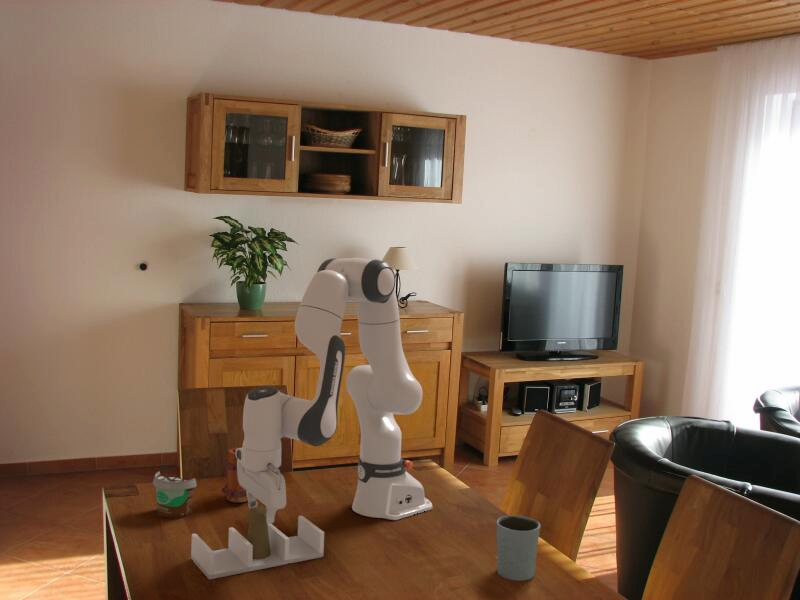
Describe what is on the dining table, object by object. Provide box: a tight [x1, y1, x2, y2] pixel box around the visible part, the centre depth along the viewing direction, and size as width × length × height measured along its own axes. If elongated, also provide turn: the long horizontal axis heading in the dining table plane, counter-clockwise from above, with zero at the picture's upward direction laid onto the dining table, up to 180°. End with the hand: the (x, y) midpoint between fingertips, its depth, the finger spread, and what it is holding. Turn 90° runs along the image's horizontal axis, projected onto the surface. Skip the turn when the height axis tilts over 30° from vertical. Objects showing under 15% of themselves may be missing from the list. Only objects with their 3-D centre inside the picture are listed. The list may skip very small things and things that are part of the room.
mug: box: [221, 445, 248, 504], centre depth 243 cm, size 15×8×15 cm, turn 168°
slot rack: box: [190, 515, 325, 580], centre depth 204 cm, size 28×12×6 cm, turn 122°
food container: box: [152, 471, 197, 519], centre depth 228 cm, size 12×6×10 cm, turn 68°
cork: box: [246, 506, 271, 559], centre depth 203 cm, size 6×6×11 cm
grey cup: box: [496, 515, 541, 582], centre depth 202 cm, size 10×10×12 cm
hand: (261, 515), depth 203 cm, fingers open, 8 cm apart
